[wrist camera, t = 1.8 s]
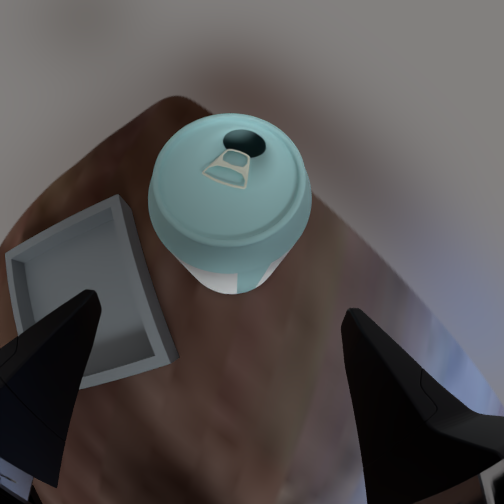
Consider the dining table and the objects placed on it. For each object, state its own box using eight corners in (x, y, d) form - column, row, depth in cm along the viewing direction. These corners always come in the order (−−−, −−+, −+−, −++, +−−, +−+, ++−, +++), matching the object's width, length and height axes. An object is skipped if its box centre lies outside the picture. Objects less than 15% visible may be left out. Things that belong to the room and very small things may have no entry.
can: (178, 218, 22) (130, 124, 10) (263, 197, 23) (287, 91, 11) (198, 305, 21) (151, 288, 9) (289, 280, 21) (350, 236, 10)
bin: (179, 357, 20) (170, 363, 17) (57, 391, 18) (38, 398, 15) (131, 208, 22) (118, 193, 19) (24, 260, 20) (5, 253, 17)
